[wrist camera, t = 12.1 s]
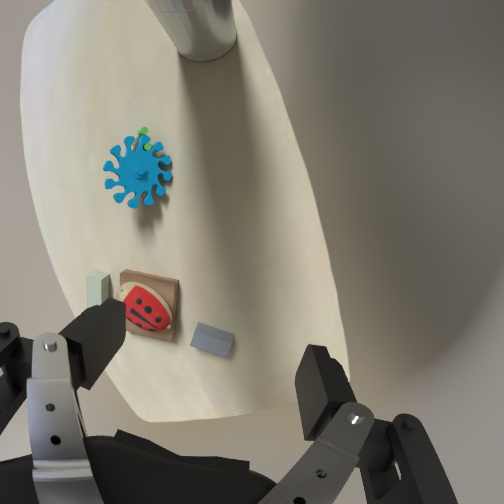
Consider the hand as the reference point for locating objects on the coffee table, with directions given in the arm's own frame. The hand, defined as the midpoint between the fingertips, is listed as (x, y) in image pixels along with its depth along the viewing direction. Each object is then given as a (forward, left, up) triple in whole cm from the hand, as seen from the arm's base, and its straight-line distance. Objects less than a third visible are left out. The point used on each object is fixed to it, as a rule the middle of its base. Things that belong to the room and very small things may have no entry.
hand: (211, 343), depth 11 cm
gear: (-6, -15, -28) cm, 33 cm away
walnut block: (+15, -12, -29) cm, 35 cm away
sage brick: (+15, -22, -28) cm, 38 cm away
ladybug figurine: (+14, -12, -26) cm, 32 cm away
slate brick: (+18, -1, -28) cm, 34 cm away
